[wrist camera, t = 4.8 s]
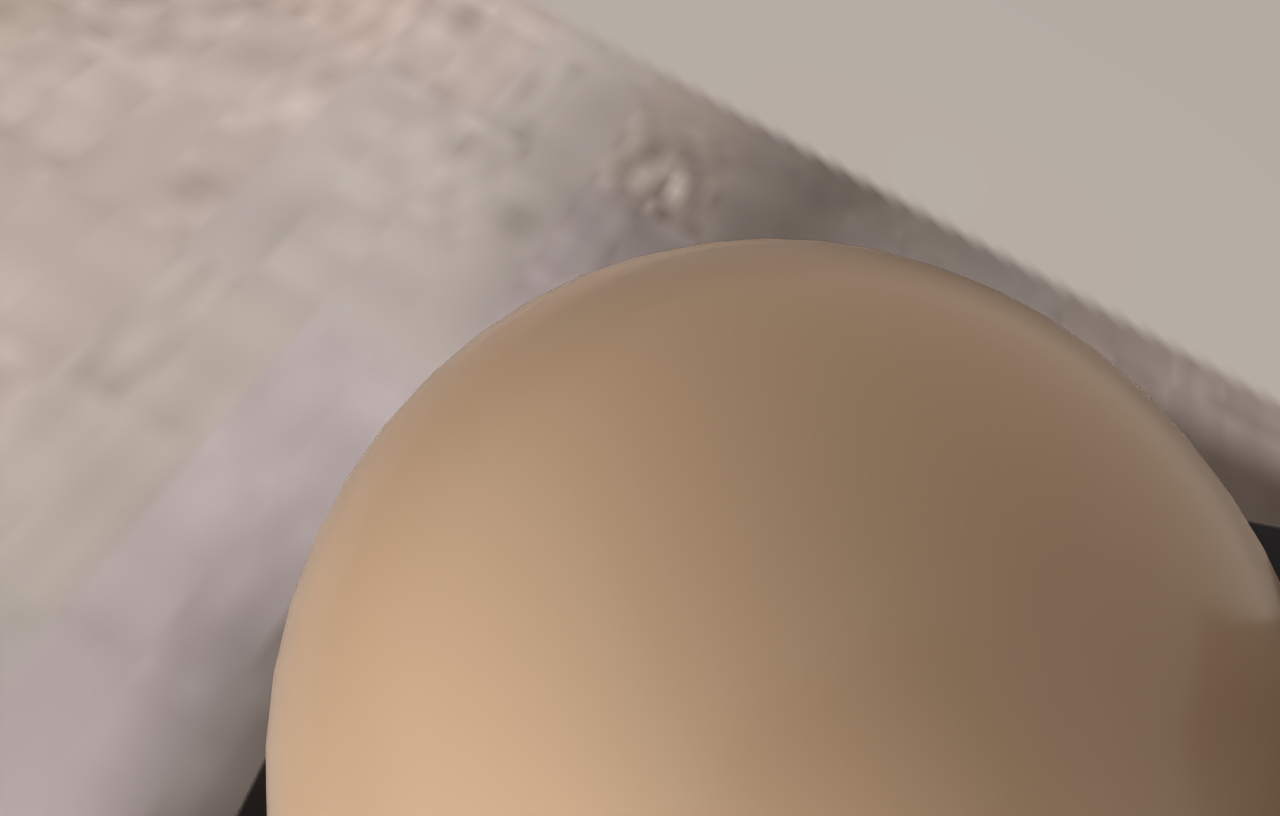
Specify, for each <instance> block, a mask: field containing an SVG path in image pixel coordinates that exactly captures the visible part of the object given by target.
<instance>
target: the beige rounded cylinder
mask: <svg viewBox="0 0 1280 816" xmlns="http://www.w3.org/2000/svg"><path fill="white" fill-rule="evenodd" d="M266 802H267V816H1280V581H1279V579H1278V577H1277V575H1276V573H1275V571H1274V569H1273V567H1272V565H1271V563H1270V560H1269V558H1268V556H1267V554H1266V552H1265V550H1264V548H1263V546H1262V545H1261V543H1260V541H1259V540H1258V538H1257V536H1256V535H1255V533H1254V532H1253V530H1252V528H1251V527H1250V525H1249V523H1248V522H1247V520H1246V519H1245V517H1244V515H1243V514H1242V512H1241V510H1240V509H1239V507H1238V506H1237V504H1236V502H1235V501H1234V499H1233V497H1232V496H1231V494H1230V493H1229V492H1228V490H1227V489H1226V488H1225V486H1224V485H1223V484H1222V482H1221V481H1220V480H1219V479H1218V477H1217V476H1216V475H1215V473H1214V472H1213V471H1212V469H1211V468H1210V467H1209V465H1208V464H1207V463H1206V462H1205V460H1204V459H1203V458H1202V456H1201V455H1200V454H1199V452H1198V451H1197V450H1196V448H1195V447H1194V446H1193V445H1192V443H1191V442H1190V441H1189V439H1188V438H1187V437H1186V436H1185V435H1184V434H1183V433H1182V431H1181V430H1180V429H1179V428H1178V427H1177V426H1176V425H1175V424H1174V423H1173V422H1172V421H1171V420H1170V419H1169V418H1168V417H1167V416H1166V414H1165V413H1164V412H1163V411H1162V410H1161V409H1160V408H1159V407H1158V406H1157V405H1156V404H1155V403H1154V402H1153V401H1152V400H1151V399H1150V398H1149V396H1148V395H1147V394H1146V393H1145V392H1144V391H1143V390H1141V389H1140V388H1139V387H1138V386H1137V385H1136V384H1134V383H1133V382H1132V381H1131V380H1130V379H1129V378H1128V377H1126V376H1125V375H1124V374H1123V373H1122V372H1121V371H1119V370H1118V369H1117V368H1116V367H1115V366H1114V365H1112V364H1111V363H1110V362H1109V361H1108V360H1107V359H1105V358H1104V357H1103V356H1102V355H1101V354H1100V353H1098V352H1097V351H1096V350H1094V349H1093V348H1091V347H1090V346H1088V345H1087V344H1085V343H1084V342H1083V341H1081V340H1080V339H1078V338H1077V337H1075V336H1074V335H1072V334H1071V333H1070V332H1068V331H1067V330H1065V329H1064V328H1062V327H1061V326H1059V325H1058V324H1057V323H1055V322H1054V321H1052V320H1051V319H1049V318H1047V317H1045V316H1043V315H1042V314H1040V313H1038V312H1036V311H1034V310H1032V309H1031V308H1029V307H1027V306H1025V305H1023V304H1021V303H1019V302H1018V301H1016V300H1014V299H1012V298H1010V297H1008V296H1007V295H1005V294H1003V293H1001V292H999V291H996V290H994V289H992V288H989V287H987V286H984V285H982V284H979V283H977V282H974V281H972V280H970V279H967V278H965V277H962V276H960V275H957V274H955V273H952V272H950V271H947V270H944V269H941V268H938V267H935V266H932V265H929V264H925V263H922V262H918V261H915V260H911V259H907V258H904V257H900V256H897V255H893V254H890V253H886V252H883V251H879V250H875V249H869V248H863V247H857V246H851V245H844V244H838V243H832V242H826V241H816V240H793V239H770V238H762V239H750V240H737V241H724V242H711V243H704V244H699V245H693V246H688V247H683V248H678V249H673V250H668V251H663V252H658V253H653V254H648V255H644V256H639V257H635V258H632V259H629V260H626V261H623V262H620V263H617V264H614V265H611V266H608V267H605V268H602V269H599V270H596V271H593V272H590V273H587V274H584V275H582V276H580V277H578V278H576V279H574V280H572V281H570V282H567V283H565V284H563V285H561V286H559V287H557V288H555V289H553V290H551V291H549V292H547V293H545V294H543V295H541V296H538V297H536V298H534V299H532V300H530V301H529V302H527V303H526V304H524V305H523V306H521V307H519V308H518V309H516V310H515V311H513V312H512V313H510V314H509V315H507V316H506V317H504V318H503V319H501V320H499V321H498V322H496V323H495V324H493V325H492V326H490V327H489V328H487V329H486V330H484V331H483V332H481V333H480V334H479V335H477V336H476V337H475V338H474V339H473V340H471V341H470V342H469V343H468V344H467V345H466V346H464V347H463V348H462V349H461V350H460V351H458V352H457V353H456V354H455V355H454V356H453V357H451V358H450V359H449V360H448V361H447V362H445V363H444V364H443V365H442V366H441V367H440V368H438V369H437V370H436V371H435V372H434V373H433V374H432V375H431V376H430V377H429V378H428V379H427V380H426V381H425V382H424V383H423V384H422V385H421V386H420V387H419V388H418V389H417V390H416V392H415V393H414V394H413V395H412V396H411V397H410V398H409V399H408V400H407V401H406V402H405V404H404V405H403V406H402V407H401V408H400V409H399V410H398V411H397V412H396V413H395V414H394V416H393V417H392V418H391V419H390V420H389V421H388V422H387V423H386V424H385V425H384V427H383V428H382V429H381V431H380V432H379V434H378V435H377V436H376V438H375V439H374V441H373V442H372V444H371V445H370V446H369V448H368V449H367V451H366V452H365V453H364V455H363V456H362V458H361V459H360V461H359V462H358V463H357V465H356V466H355V468H354V469H353V470H352V472H351V473H350V475H349V476H348V478H347V479H346V481H345V483H344V485H343V487H342V488H341V490H340V492H339V494H338V496H337V498H336V500H335V502H334V503H333V505H332V507H331V509H330V511H329V513H328V515H327V517H326V518H325V520H324V522H323V524H322V526H321V528H320V530H319V532H318V534H317V535H316V537H315V540H314V542H313V545H312V548H311V550H310V553H309V556H308V558H307V561H306V563H305V566H304V569H303V571H302V574H301V577H300V579H299V582H298V585H297V587H296V590H295V592H294V595H293V598H292V600H291V603H290V607H289V612H288V616H287V620H286V624H285V628H284V632H283V636H282V640H281V645H280V649H279V653H278V657H277V661H276V665H275V669H274V675H273V684H272V693H271V702H270V711H269V720H268V729H267V738H266Z"/></svg>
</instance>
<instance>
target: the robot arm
mask: <svg viewBox="0 0 1280 816" xmlns="http://www.w3.org/2000/svg"><path fill="white" fill-rule="evenodd" d="M1247 522H1248V523H1249V525H1250V527H1251V528H1252V530H1253V532H1254V533H1255V535H1256V536H1257V538H1258V540H1259V541H1260V543H1261V545H1262V546H1263V548H1264V550H1265V552H1266V554H1267V556H1268V558H1269V560H1270V563H1271V565H1272V567H1273V569H1274V571H1275V573H1276V575H1277V577H1278V579H1279V581H1280V527H1274V526H1269V525H1264V524H1259V523H1254V522H1249V521H1247ZM236 816H267V802H266V757H265V759H264V761H263V763H262V765H261V767H260V769H259V771H258V773H257V775H256V777H255V779H254V781H253V783H252V785H251V787H250V789H249V791H248V793H247V795H246V797H245V799H244V801H243V803H242V805H241V807H240V809H239V811H238V813H237V815H236Z"/></svg>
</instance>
